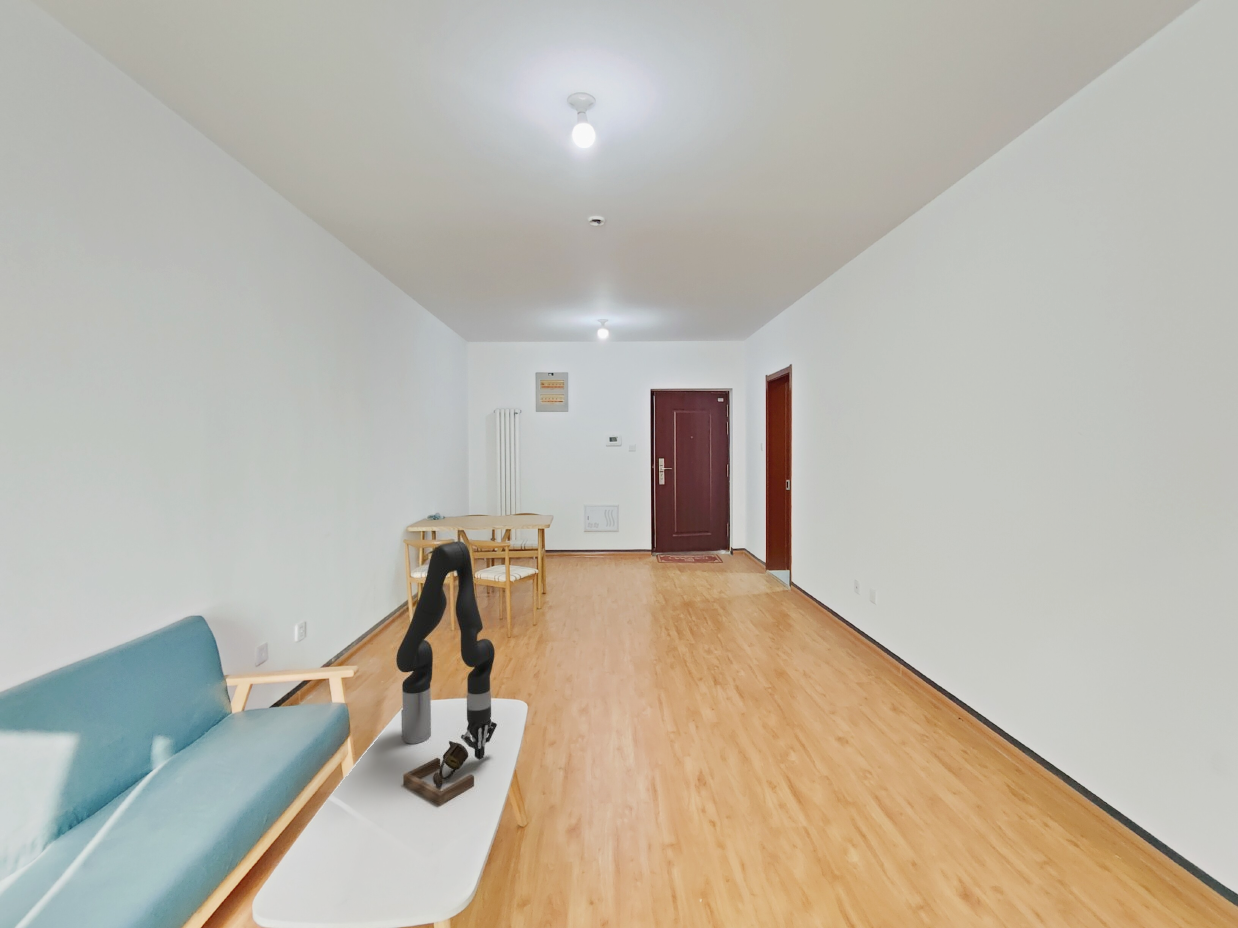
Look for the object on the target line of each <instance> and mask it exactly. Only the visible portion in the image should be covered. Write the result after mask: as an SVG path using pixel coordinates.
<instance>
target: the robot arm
mask: <svg viewBox="0 0 1238 928" xmlns="http://www.w3.org/2000/svg"><path fill="white" fill-rule="evenodd" d="M453 572H455V573H456V574H457V578H458V591H457V595H456V601H455V616H456V620H457V624H458V627H459V631H460V654H461V659H462V661H463V663H464V664H465V665H466V666H467V667H469V668H473V669H472V670H471V671H470V672H469V673H468V674H467V680H466V681H467V688H466V689H467V694H466V720H467V726H466V730H467V731H466V732H465V733H464V734H461V735H460V738H461V740H462V741H463V742H464V743H465V744H466V745H467V746H468V747H470V748H472V749H473V750H474V758H476V759H477V760H481V759H484V756H485V753H486V752H485V746H486V745H487V743H489V742H490V741H491V739H492V737H493V735H494V732H495V730H496V728H497V726H498V723H496V722H494V721H492V694H491V673H492V670H493V665H494V660H495V655H496V653H495V652H496V651H495V647H494V644H493V643H492V641H491V640H490V639H488V638H481V639H479V640H478V635H479V633H481V632H482V630H483V628H484V627H483V626H484V625H483V621H482V618H481V615H480V611H479V610H480V609H479V607H478V603H477V598H476V592H475V585H474V584H475V583H474V574H473V566H472V557H471V552H470V549H469V548H468V546H467V545H466V543H465V542H464V541H452V542H448V543H443V544H440V545H437V546H436V547H435V548H434V549H433V550H432V552H431V556H430V558H429V562H428V567H427V571H426V577H425V580H424V583H423V586H422V590H421V592H420V596H419V598H418V600H417V604H416V606H415V609H414V612H413V616H412V618H411V621H410V624H409V626H408V629H407V631H406V633H405V635H404V636H403V637H404V638H402V641H401V643H400V645H399V647H398V650H397V652H396V656H395V657H396V659H395V660H396V667H397V669H398V670H399V671H400V672H402V673H410V672H411V673H410V674H409V676H407V677H406V678H405V679H404V680H403V681H402V685H401V686H402V691H401V692H402V693H401V694H402V709H401V713H400V714H401V738H402V740H403V742H404V743H407V744H412V745H413V744H420V743H424V742H425V741H426V742H427V740H429V739H430V738H431V736H432V709H431V708H432V705H431V703H432V700H431V699H432V698H431V683H432V680H433V679H432V678H433V666H434V665H433V660H434V658H433V657H434V656H433V655H434V654H433V649H432V646H431V643H430V642H429V641H428V640H425V639H426V638H427V637H428V636H430V634H431V633H432V632H433V631H434V630H435V629H436V628H437V627H438V625H439V624H440V622H441V621H442V620H443V616H444V614H445V610H446V608H447V604H448V601H447V596H446V593H445V591H444V588H443V587H444V583H445V580H446V578H447V576H448V575H449V574H450V573H453Z"/></svg>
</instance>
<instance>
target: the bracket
mask: <svg viewBox="0 0 1238 928" xmlns="http://www.w3.org/2000/svg"><path fill="white" fill-rule="evenodd" d="M440 766H441V759H440V757H436V758H433V759H431V760H429V761H427V762H425V763H424V764H422V765H420V766H418V767H415V768H413V769H412V770H410V771H407V772H406V773H404V774H403V775H402V779H403V780H402V781H403V786H404V787H407V788H408V789H410V790H412V791H414V792H415V793H417V794H419V795H421V796H422V797H424V798H425V799H428V800H429V801H431V802H432V803H434V804H436V805H438V806H442V805H443V804H445V803H448V802H449V801H450V800H452V799H454V798H456V797H458V796H459V795H461V794H462V793H464V792H467V791H468V790H469V789H471V788H472V787H474V786H475V776H474V775H473V774H468V775H467V776H465V777H463V778H462V779H460V780H458V781H455V782H454V783H452V784H450V785H449V786H447V787H446V788H443V789H442V790H440V789H438V787H435V786H433V785H431V784H429V783H428V782H425V781H423V780H422V779H423V778H425V777H427V776H429V775H431V774H433V773H436V772H438V770H440Z"/></svg>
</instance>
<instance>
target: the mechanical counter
mask: <svg viewBox="0 0 1238 928" xmlns="http://www.w3.org/2000/svg"><path fill="white" fill-rule="evenodd" d="M448 745H449V748H448V749H447V750H446V751H445V752H444V754H443V755H442V761H441V762H440V769H439V772H438V771H435V772H434V774H433V776H432V781H433V784H434V785H435V786H436V787H437V788H438V787H441V786H442V785H443V781H447V780H448V779H450V778H451V777H452V776H453V775H454V774H455V772H456V771H457V770H460V769H461V767H462V766H463V765H464V763H465V762H466V761H467V759H469V751H468V750H467V748H466V747H465V746H464V745H463V744H461V743H460V742H454V741H452V740H449V741H448ZM445 765H446V766H447V767H448V768H449V769H451V771H450V772H449V774H448V775H446V776H445V777H444V775H443V770H444V766H445Z"/></svg>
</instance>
